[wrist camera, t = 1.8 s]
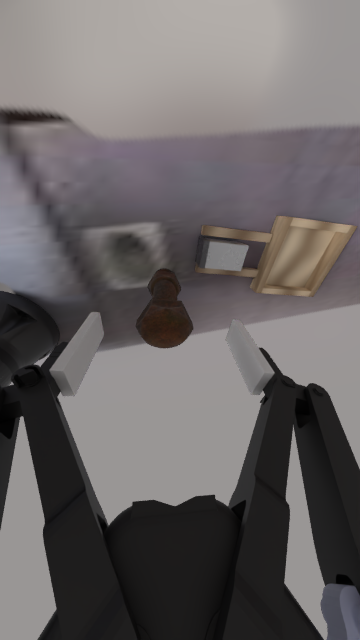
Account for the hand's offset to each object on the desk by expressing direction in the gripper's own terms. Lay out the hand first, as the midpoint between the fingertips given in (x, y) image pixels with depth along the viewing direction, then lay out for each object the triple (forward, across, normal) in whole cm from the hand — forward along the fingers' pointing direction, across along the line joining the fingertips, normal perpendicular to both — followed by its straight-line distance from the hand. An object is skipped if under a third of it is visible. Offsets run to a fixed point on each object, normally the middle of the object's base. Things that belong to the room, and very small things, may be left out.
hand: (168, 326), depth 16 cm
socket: (+15, +16, +5) cm, 22 cm away
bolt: (+15, 0, 0) cm, 15 cm away
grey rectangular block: (+14, +8, +5) cm, 17 cm away
